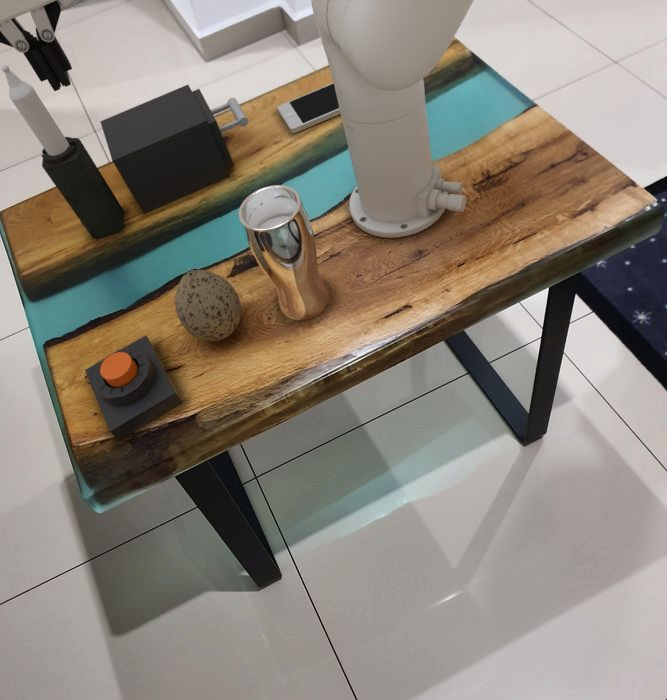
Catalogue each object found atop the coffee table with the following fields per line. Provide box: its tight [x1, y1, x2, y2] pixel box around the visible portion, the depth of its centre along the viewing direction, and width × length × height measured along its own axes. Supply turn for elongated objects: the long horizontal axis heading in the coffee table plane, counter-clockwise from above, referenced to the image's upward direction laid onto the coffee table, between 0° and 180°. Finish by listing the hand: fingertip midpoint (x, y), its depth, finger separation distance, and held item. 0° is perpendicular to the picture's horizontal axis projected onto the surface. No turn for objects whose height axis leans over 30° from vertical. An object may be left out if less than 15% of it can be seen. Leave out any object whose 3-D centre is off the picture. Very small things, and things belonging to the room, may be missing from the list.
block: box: [84, 335, 184, 441], centre depth 73 cm, size 10×8×4 cm
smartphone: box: [277, 82, 341, 134], centre depth 99 cm, size 7×15×1 cm, turn 111°
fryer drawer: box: [192, 88, 249, 170], centre depth 94 cm, size 17×9×8 cm, turn 112°
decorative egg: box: [174, 269, 242, 342], centre depth 73 cm, size 7×7×10 cm
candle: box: [0, 63, 126, 240], centre depth 84 cm, size 5×5×25 cm
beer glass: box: [238, 184, 330, 321], centre depth 71 cm, size 7×7×15 cm
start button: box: [100, 352, 138, 388], centre depth 71 cm, size 4×4×2 cm
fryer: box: [100, 84, 231, 215], centre depth 93 cm, size 14×11×10 cm
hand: (61, 81), depth 60 cm, fingers closed
